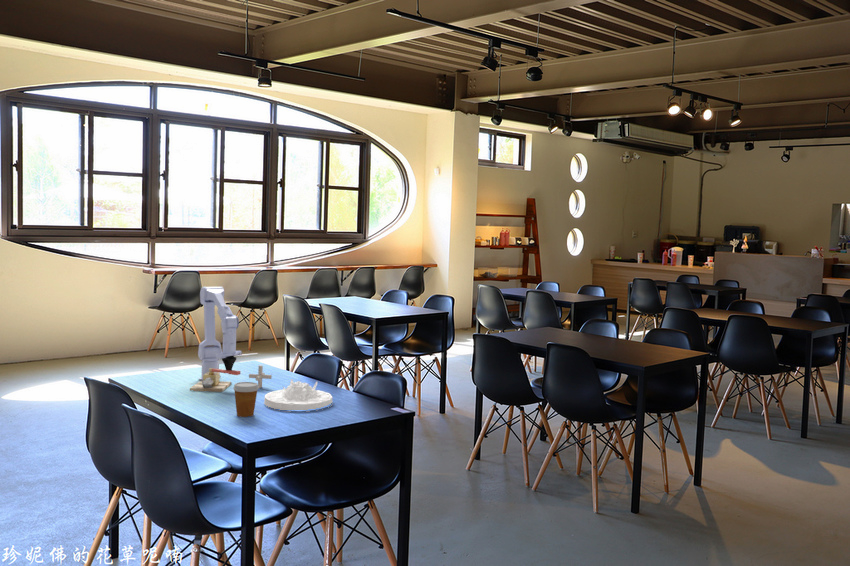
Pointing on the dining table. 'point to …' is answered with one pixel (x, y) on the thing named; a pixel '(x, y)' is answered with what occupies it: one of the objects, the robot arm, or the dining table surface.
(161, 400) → the dining table surface
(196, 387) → the mounting board
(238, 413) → the disposable coffee cup
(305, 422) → the dining table surface
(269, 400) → the cake
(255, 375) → the pipe connector
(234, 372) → the lever
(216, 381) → the ball valve
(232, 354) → the robot arm
